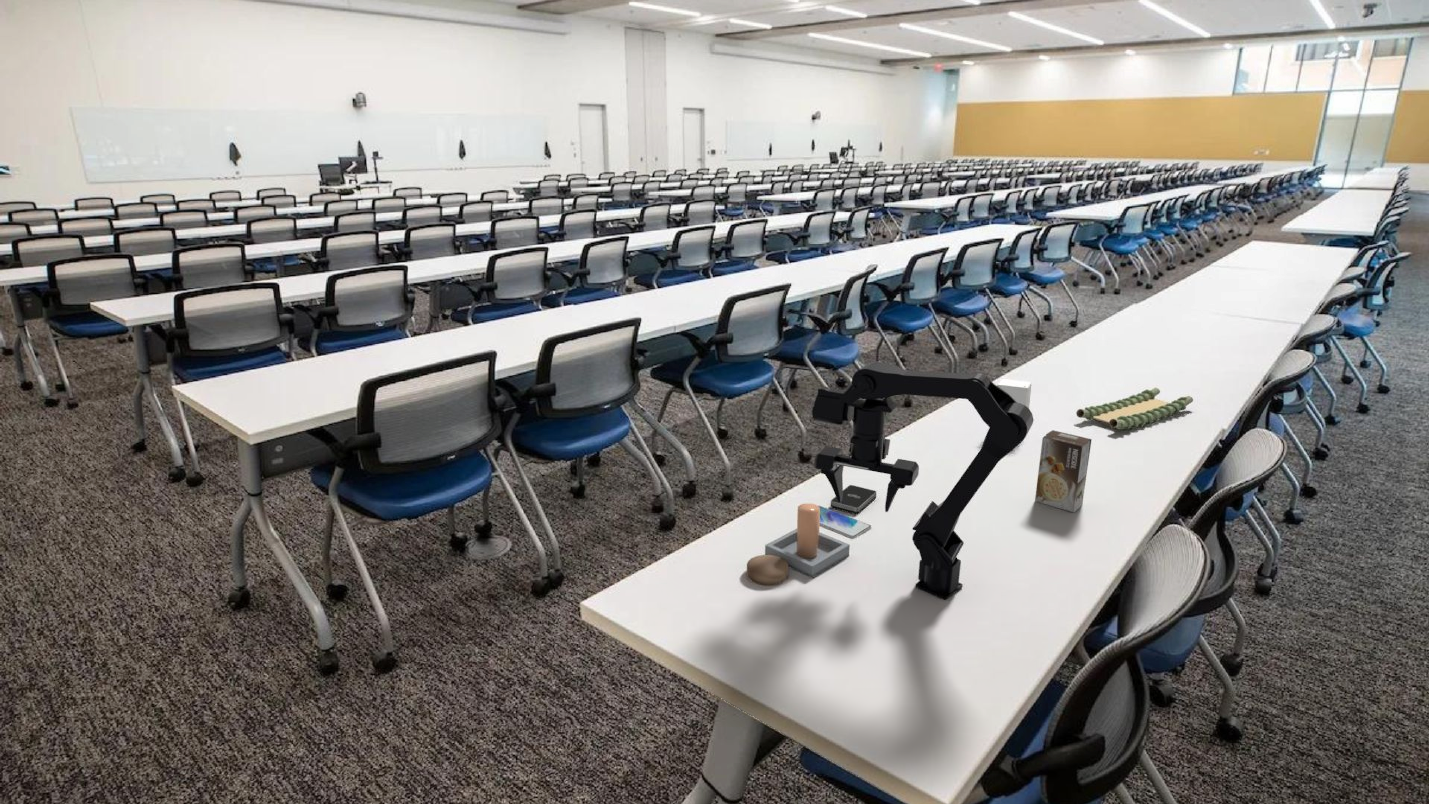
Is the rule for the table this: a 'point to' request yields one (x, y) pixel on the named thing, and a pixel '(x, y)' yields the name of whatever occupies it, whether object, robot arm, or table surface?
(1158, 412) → the stretcher
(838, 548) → the tray
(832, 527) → the smartphone
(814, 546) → the peach stamp handle
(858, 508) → the external hard drive
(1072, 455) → the coffee box
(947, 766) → the table surface
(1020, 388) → the skincare box
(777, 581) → the brown stone
